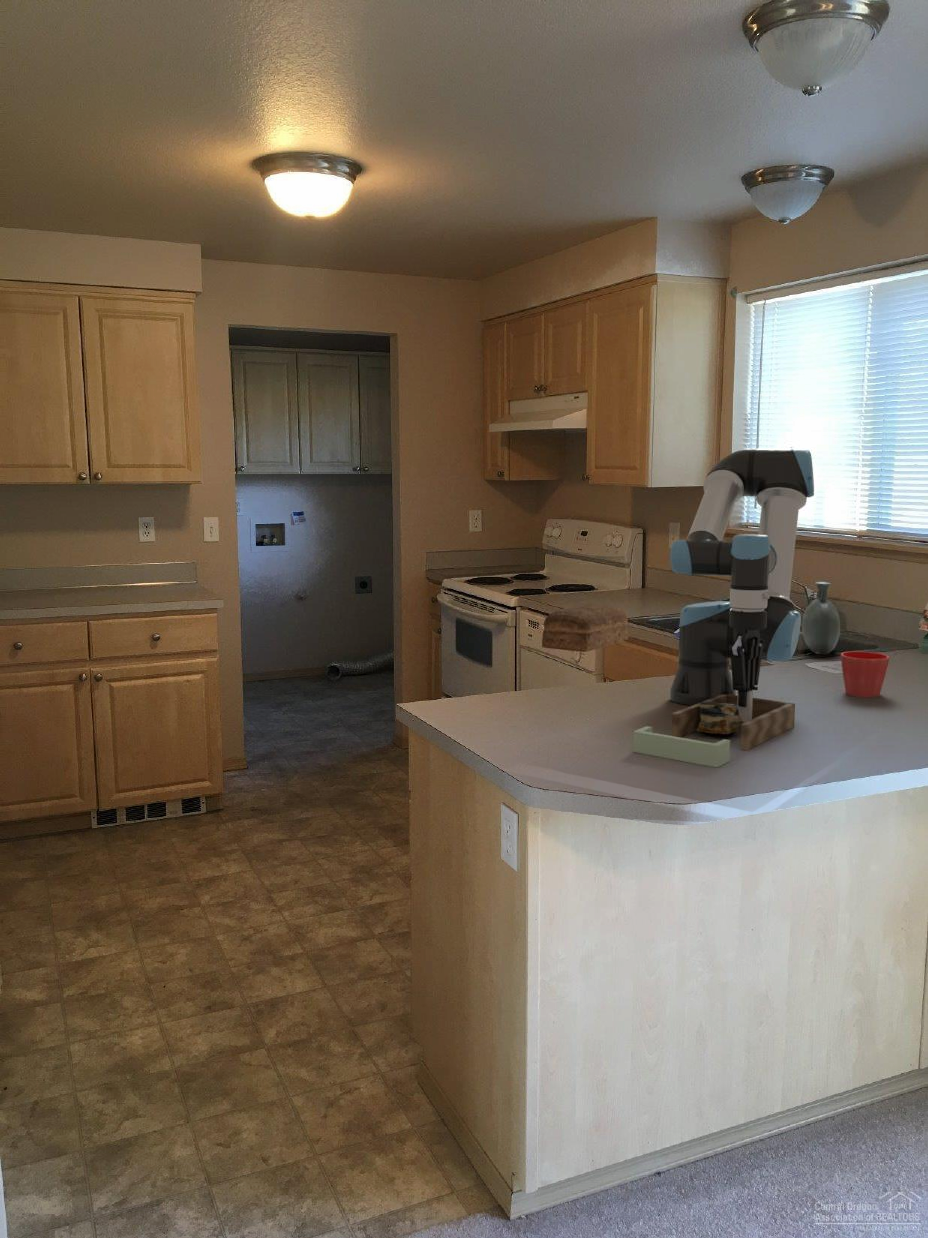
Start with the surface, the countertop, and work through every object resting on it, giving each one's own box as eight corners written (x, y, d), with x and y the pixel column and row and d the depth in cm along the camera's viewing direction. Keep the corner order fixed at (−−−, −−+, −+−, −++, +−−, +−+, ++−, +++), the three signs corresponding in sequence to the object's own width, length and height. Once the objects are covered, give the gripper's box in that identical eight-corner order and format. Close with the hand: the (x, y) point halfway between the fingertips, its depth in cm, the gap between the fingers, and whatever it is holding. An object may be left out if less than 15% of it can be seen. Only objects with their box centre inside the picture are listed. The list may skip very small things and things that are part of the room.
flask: (846, 653, 304) (849, 580, 301) (833, 661, 289) (836, 585, 286) (806, 649, 310) (809, 578, 307) (792, 657, 296) (795, 583, 293)
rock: (696, 734, 203) (696, 706, 202) (701, 726, 211) (701, 699, 211) (740, 736, 200) (740, 708, 199) (744, 728, 209) (744, 701, 208)
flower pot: (891, 699, 238) (893, 659, 237) (842, 697, 241) (844, 657, 239) (882, 690, 249) (884, 652, 247) (835, 689, 251) (837, 650, 250)
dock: (717, 767, 181) (717, 745, 181) (632, 751, 192) (633, 731, 192) (729, 761, 185) (730, 740, 185) (646, 746, 196) (646, 726, 196)
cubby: (746, 750, 193) (747, 725, 192) (671, 737, 203) (672, 713, 202) (794, 726, 212) (795, 703, 211) (723, 716, 222) (724, 693, 221)
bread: (632, 643, 323) (633, 602, 322) (585, 656, 299) (585, 612, 297) (585, 638, 333) (586, 599, 332) (536, 651, 309) (537, 608, 307)
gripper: (753, 613, 200) (748, 729, 204) (778, 607, 210) (773, 718, 214) (717, 610, 205) (713, 724, 208) (744, 605, 215) (740, 713, 218)
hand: (744, 720), depth 211 cm, fingers closed
